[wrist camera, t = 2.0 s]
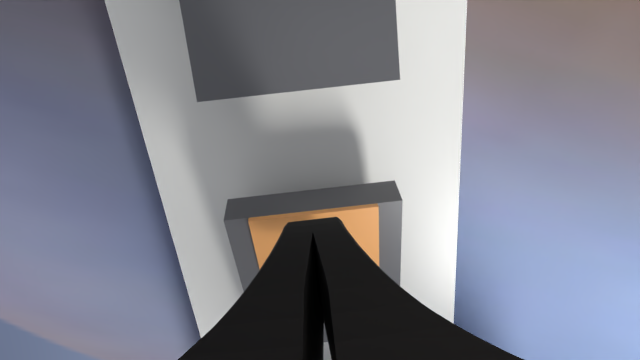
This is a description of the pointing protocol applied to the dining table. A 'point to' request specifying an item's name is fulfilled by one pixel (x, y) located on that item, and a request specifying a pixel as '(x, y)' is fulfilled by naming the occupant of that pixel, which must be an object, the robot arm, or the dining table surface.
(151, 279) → the dining table surface
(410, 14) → the power strip
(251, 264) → the outlet rocker
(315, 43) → the outlet rocker
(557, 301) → the dining table surface
